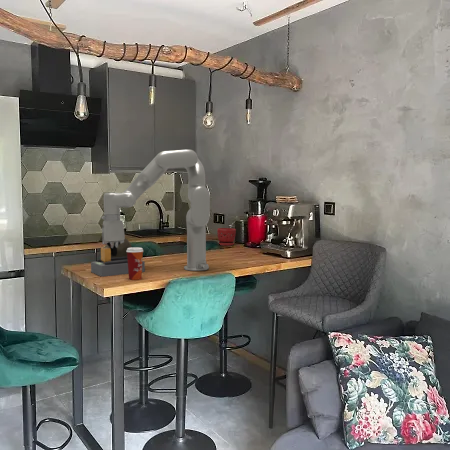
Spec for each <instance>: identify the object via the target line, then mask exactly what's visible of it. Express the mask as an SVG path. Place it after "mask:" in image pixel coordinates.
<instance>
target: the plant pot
mask: <svg viewBox="0 0 450 450" xmlns="http://www.w3.org/2000/svg"><path fill="white" fill-rule="evenodd" d="M236 231H237V229H236V228H232V227H231V228H230V227H229V228H228V227H218V228H217V231H216V232H217V240H218V242H219V244H220V245H219V244H218V245H219V246H222V247H223V246H225V247H229V246H233V245H234V244H235V242H234V241H235V239H236V234H237V233H236Z"/></svg>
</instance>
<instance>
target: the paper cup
mask: <svg viewBox="0 0 450 450" xmlns="http://www.w3.org/2000/svg"><path fill="white" fill-rule="evenodd" d="M126 252H127V259H128V273H129V274H128V280H129V281H130V280H132V281H135V280H136V281H139V280H141V279H142V277H143V276H142V274H143V272H142V261H143V255H144V254H143V253H144V249H143V248H142V247H137V246H136V247H132V248H127V251H126Z"/></svg>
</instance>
